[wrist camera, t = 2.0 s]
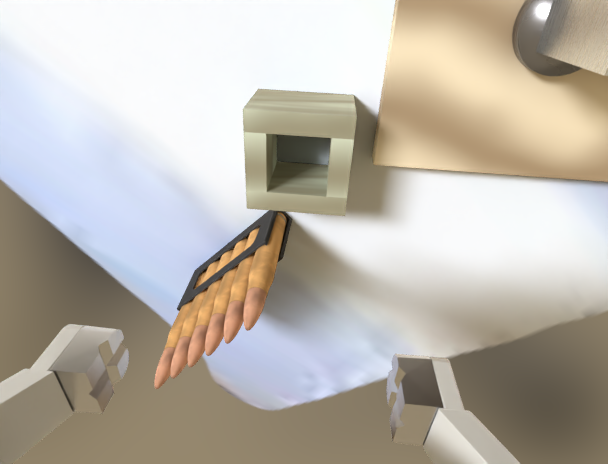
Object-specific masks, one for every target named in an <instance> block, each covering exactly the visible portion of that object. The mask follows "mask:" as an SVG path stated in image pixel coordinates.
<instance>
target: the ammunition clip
mask: <svg viewBox="0 0 608 464" xmlns="http://www.w3.org/2000/svg"><path fill="white" fill-rule="evenodd" d="M291 221H292V219H291V218H290V217H289V216H288V215H287V214H286V213H285V212H283V211H274V210H269V211H268V212H267V213H265V214H264V215H263V216H262V217H260V218H259V219H258V220H257V221H255V222H254V223H253V224H252V225H251V226H249V227H248V228H247V229H246V230H244V231H243V232H242V233H241V234H239V235H238V236H237V237H236V238H234V239H233V240H232V241H231V242H230V243H228V244H227V245H226V246H225V247H223V248H222V249H221V250H220V251H218V252H217V253H216V254H215V255H213V256H212V257H211V258H210V259H208V260H207V261H206V262H205V263H204V264H202V265H201V266H200V267H199V268H197V269H196V270H195V272H194V274H193V276H192V278H191V280H190V282H189V284H188V286H187V289H186V291H185V293H184V295H183V297H182V299H181V301H180V303H179V305H178V308H177V310H179V313H178V316H177V318H176V320H175V322H174V324H173V326H172V328H171V330H170V333H169V336H168V341H167V344H166V346H165V349H164V352H163V354H162V356H161V359H160V361H159V364H158V367H157V371H156V375H155V388H156V389H158V388H159V387H161V386H162V385H163V384H164V383H165V381H166V380H167V379H168V378H169V376H170V375H171V378H175V377H176V376H178V375H179V373H181V371H182V370H183V369H184V367H185V365H186V364H187V363H188V366H189V367H192V366H194V365H195V364H196V363H197V362H198V360H199V359H200V357H201V356H202V355H203V353H204V351H206V355H207V356H210V355H211V354H212V353H213V352H214V351H215V350H216V348H217V347H218V346H219V344H220V342H221V341H222V339H223V337H224V339H225V343H227V344H228V343H230V342H231V341H232V340H233V339H234V338H235V336H236V335H237V333H238V331H239V330H240V328H241V326H242V323H243V321H244V326H245V329H246V330H250V329H251V328H252V327H253V326H254V325H255V323H256V322H257V320H258V318H259V316H260V314H261V312H262V309H263V307H264V303H265V299H266V297H267V294H268V291H269V288H270V286H271V285H272V283H273V280H274V275H275V271H276V266H277V262H279V261H280V260H281V259H282V258H283V255H284V251H285V247H286V243H287V238H288V234H289V230H290V226H291Z"/></svg>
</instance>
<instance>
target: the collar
mask: <svg viewBox="0 0 608 464" xmlns="http://www.w3.org/2000/svg"><path fill="white" fill-rule="evenodd" d="M356 121H357V114H356V107H355V100H354V95H345V94H329V93H314V92H299V91H283V90H268V89H258V90H257V91H256V93H255V94H254V95H253V97H252V98H251V99H250V101H249V102H248V103H247V105H246V106H245V107H244V108H243V125H244V149H245V173H246V197H247V208H248V209H261V210H274V211H287V212H300V213H313V214H326V215H339V216H345V212H346V203H347V195H348V187H349V178H350V170H351V162H352V154H353V145H354V137H355V129H356ZM277 134H280V135H294V136H309V137H323V138H330V150H329V161H328V165H319V164H305V163H292V162H278V161H277Z"/></svg>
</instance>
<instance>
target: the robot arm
mask: <svg viewBox="0 0 608 464" xmlns="http://www.w3.org/2000/svg"><path fill="white" fill-rule="evenodd" d="M123 338H124V337H123V334H122V331H121V330H118V329H110V328H101V327H92V326H83V325H73V324H69V325H67V326H65V327H64V328H63V329H62V330H61V331H60V333H59V334H58V335H57V336H56V337H55V339H54V340H53V341H52V343H51V344H50V345H49V346H48V347H47V349H46V350H45V351H44V352H43V354H42V355H41V356H40V357H39V359H38V360H37V361H36V362H35V363H34V365H33V366H32V367H31V369H24V370H22V371H20V372H18V373H17V374H15V375H13V376H11V377H10V378H8V379H6V380H4V381H3V382H1V383H0V464H13V463H14V462H15V461H17V460H18V459H19V458H20V457H21V456H23V455H24V454H25V453H26V452H28V451H29V450H30V449H31V448H32V447H34V446H35V445H36V444H37V443H38V442H40V441H41V440H42V439H43V438H44V437H46V436H47V435H48V434H49V433H50V432H52V431H53V430H54V429H55V428H56V427H58V426H59V425H60V424H61V423H63V422H64V421H65V420H66V419H67V418H69V417H70V416H71V415H72V414H73V412H86V413H100V414H103V412H104V410H105V408H106V406H107V405H108V403H109V401H110V399H111V398H112V396H113V394H114V390H113V385H114V384H116V383H117V382H118V381H120V380H121V379H122V377H123V376H124V374H125V372H126V369H127V365H128V362H129V353H128V350H127V347H125V346H124V345H123V344H122V343H121V342H122V340H123ZM392 368H393V370H391V371H390V372H389V375H388V380H387V401H388V405H389V407H390V408H391V409H392V413H391V417H390V426H391V434H392V441H393V442H394V443H402V444H410V445H418V446H423V449H424V450H425V452H426V453H427V455H428V456H429V458H430V459H431V461H432V462H433V464H520V463H519V462H518V461H517V460H516V458H515V457H514V456H513V455H512V454H511V453H510V452H509V451H508V450H507V449H506V448H505V447H504V446H503V445H502V444H501V443H500V442H499V441H498V440H497V439H496V438H495V437H494V435H493V434H491V432H489V430H488V429H487V428H486V427H485V426H484V425H483V424H482V423H481V422H480V421H479V420H478V419H477V418H476V417H475V416H474V415H473V414H472V413H471V412H470V411H466V410H464V406H463V403H462V400H461V397H460V394H459V390H458V387H457V384H456V381H455V377H454V374H453V370H452V367H451V364H450V361H449V360H448V359H447V358H437V357H428V356H417V355H404V354H395V355H394V356H393V359H392Z"/></svg>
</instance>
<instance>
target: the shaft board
mask: <svg viewBox="0 0 608 464" xmlns="http://www.w3.org/2000/svg"><path fill="white" fill-rule="evenodd" d="M372 159H373V164H374V165H382V166H396V167H410V168H424V169H438V170H452V171H466V172H480V173H493V174H507V175H521V176H535V177H549V178H563V179H577V180H591V181H605V182H608V0H396V1H395V8H394V14H393V21H392V27H391V34H390V41H389V47H388V54H387V61H386V67H385V74H384V80H383V87H382V94H381V100H380V107H379V114H378V120H377V127H376V133H375V140H374V147H373V153H372Z"/></svg>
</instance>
